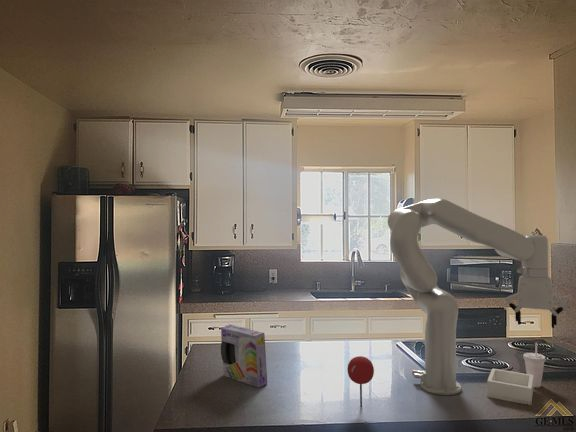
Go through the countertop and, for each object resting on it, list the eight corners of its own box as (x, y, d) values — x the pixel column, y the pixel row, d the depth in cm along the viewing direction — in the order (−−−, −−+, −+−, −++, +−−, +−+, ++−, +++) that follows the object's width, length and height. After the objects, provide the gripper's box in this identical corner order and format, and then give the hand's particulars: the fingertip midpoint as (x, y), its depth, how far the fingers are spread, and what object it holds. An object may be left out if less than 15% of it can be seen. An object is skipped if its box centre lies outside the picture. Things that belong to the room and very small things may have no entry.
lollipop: (347, 401, 138) (347, 352, 137) (373, 402, 137) (372, 353, 136) (348, 413, 130) (347, 361, 130) (375, 414, 129) (374, 362, 129)
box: (487, 396, 140) (487, 380, 140) (492, 383, 150) (492, 368, 150) (531, 405, 133) (531, 388, 133) (533, 390, 144) (533, 375, 144)
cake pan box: (220, 375, 160) (219, 325, 160) (231, 371, 164) (230, 322, 163) (257, 389, 147) (256, 335, 147) (268, 385, 151) (267, 332, 150)
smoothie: (548, 389, 144) (548, 346, 144) (526, 388, 146) (526, 345, 145) (541, 381, 151) (541, 340, 150) (520, 380, 152) (520, 339, 151)
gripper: (504, 273, 148) (505, 325, 149) (566, 276, 139) (567, 331, 140) (506, 270, 155) (507, 319, 155) (566, 272, 146) (566, 325, 146)
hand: (535, 325), depth 147 cm, fingers open, 9 cm apart
